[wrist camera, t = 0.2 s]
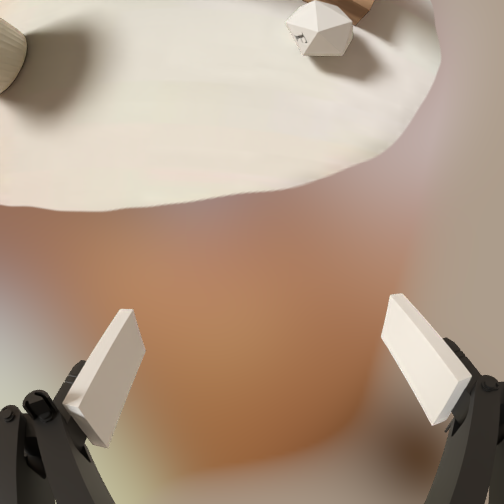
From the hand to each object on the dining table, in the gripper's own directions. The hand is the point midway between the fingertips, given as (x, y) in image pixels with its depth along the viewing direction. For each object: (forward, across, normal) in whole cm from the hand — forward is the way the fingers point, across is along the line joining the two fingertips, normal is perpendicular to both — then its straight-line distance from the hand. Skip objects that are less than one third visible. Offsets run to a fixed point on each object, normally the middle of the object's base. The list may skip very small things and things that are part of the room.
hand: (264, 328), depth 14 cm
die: (+29, +10, +25) cm, 39 cm away
